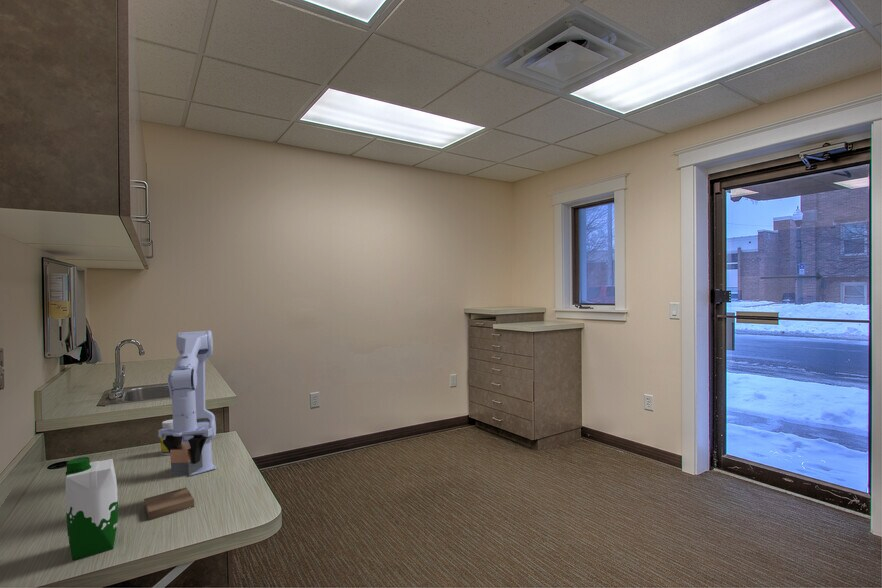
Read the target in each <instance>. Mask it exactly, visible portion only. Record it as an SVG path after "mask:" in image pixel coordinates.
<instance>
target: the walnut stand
mask: <svg viewBox="0 0 882 588" xmlns="http://www.w3.org/2000/svg"><path fill="white" fill-rule="evenodd" d="M193 506H194V507H195V499H194V497H193V495H192V494H191V492H190V490H189V489H188V488H187V487H183V488H179V489H175V490H172V491H169V492H168V491H167V492H165V493H161V494H156V495H154V496H149V497H146V498H143V507H144V510H145V513H146V514H147V517H148V520H149V521H151V520H154V519H158V518H161V517H165V516H167V515H171V514H175V513H179V512H182V511H184V509H185V510H188V509H190V508H189V507H191V508H194V507H193ZM187 508H188V509H187Z"/></svg>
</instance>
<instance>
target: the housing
mask: <svg viewBox="0 0 882 588" xmlns="http://www.w3.org/2000/svg"><path fill="white" fill-rule="evenodd" d="M169 456H170V472H171V475H170V476H171V477H172V476H173V477H174V476H175V477H177V476H180V477H181V476H183V477H184V476H189V475H191V474H192V473H194V472H195V471H197V470H199V469H200V468H202V467H203V464H202V452H201V457H200V461H199V462H197V463H196V464H193V461H192V451H191V447H190V444H189V442H184V443H181V445H179V446H177V447H175V448H173V449H171V450H170V455H169ZM191 476H192V475H191ZM189 477H190V476H189Z"/></svg>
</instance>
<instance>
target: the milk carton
mask: <svg viewBox="0 0 882 588" xmlns="http://www.w3.org/2000/svg"><path fill="white" fill-rule="evenodd" d="M90 460H91V459H90V457H88V456H82V457H76V458H73V459H71V460H68V461H67V462H65V463H66V465H65V466H66V471H65V512H66V514H65V515H66V532H67V540H68V545H69V549H70V554H71V559H72V561H74V560H77V559H81V558H85V557H89V556H92V555H97V554H100V553H103V552H107V551H111V550H114V546H115V541H116V535H117V530H118V522H119V497H118V495H119V494H118V483H117V475H116V470H115V465H114V460H113V458H110V459H105V460H104V459H103V460H95V461H90Z"/></svg>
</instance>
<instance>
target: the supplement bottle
mask: <svg viewBox="0 0 882 588" xmlns="http://www.w3.org/2000/svg"><path fill="white" fill-rule="evenodd" d="M161 427H162V429H166V428H173V418H172V419H167V420H164V421H162V422H161ZM165 438H166V437H162V438H160V440H159V441H160V452H161V455H162V456H170V453H169V451H168V449H167V448H166V446H165V445H164V444H163V440H165Z"/></svg>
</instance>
